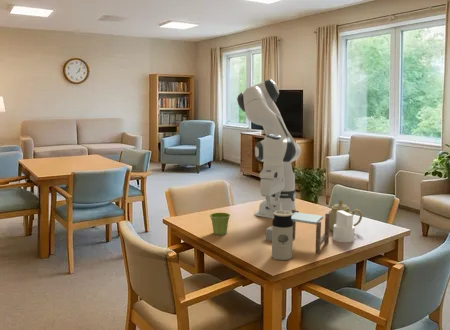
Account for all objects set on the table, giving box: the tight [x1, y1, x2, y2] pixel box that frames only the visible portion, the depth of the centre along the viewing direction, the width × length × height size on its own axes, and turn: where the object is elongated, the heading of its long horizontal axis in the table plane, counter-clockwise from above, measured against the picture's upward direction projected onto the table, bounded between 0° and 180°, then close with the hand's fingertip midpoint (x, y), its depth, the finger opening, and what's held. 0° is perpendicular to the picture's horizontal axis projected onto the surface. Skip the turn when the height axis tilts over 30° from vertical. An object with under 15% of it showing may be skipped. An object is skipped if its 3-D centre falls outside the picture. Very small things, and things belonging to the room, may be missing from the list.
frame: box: [292, 209, 330, 255], centre depth 191 cm, size 16×16×13 cm
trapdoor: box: [291, 212, 324, 226], centre depth 191 cm, size 15×11×2 cm
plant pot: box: [209, 212, 231, 236], centre depth 208 cm, size 9×9×9 cm
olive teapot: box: [328, 198, 363, 232], centre depth 214 cm, size 15×11×15 cm
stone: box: [265, 225, 272, 242], centre depth 200 cm, size 5×5×5 cm
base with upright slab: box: [332, 210, 356, 243], centre depth 200 cm, size 9×9×12 cm
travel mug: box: [271, 210, 294, 261], centre depth 177 cm, size 8×8×18 cm
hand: (273, 202), depth 198 cm, fingers open, 8 cm apart
